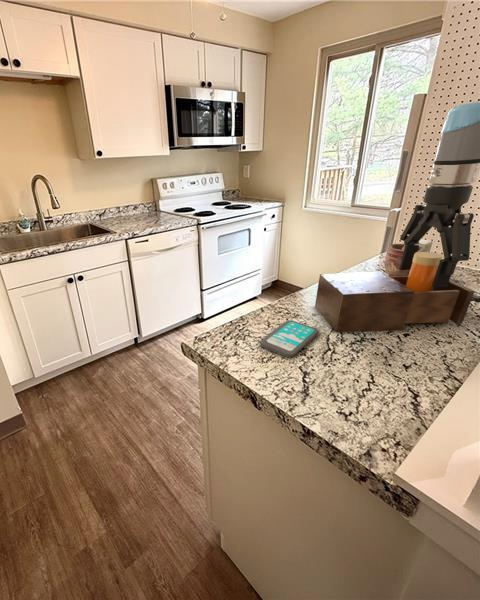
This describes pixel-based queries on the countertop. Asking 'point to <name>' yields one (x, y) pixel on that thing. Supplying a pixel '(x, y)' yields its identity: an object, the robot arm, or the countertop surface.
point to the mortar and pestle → (396, 259)
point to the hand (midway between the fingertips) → (421, 277)
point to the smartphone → (289, 338)
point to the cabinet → (363, 301)
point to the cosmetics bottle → (425, 244)
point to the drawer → (439, 303)
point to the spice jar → (423, 271)
